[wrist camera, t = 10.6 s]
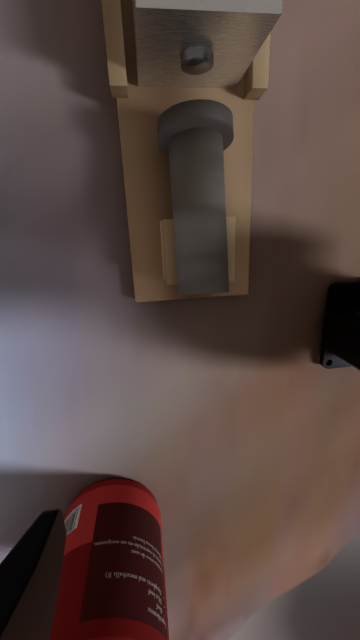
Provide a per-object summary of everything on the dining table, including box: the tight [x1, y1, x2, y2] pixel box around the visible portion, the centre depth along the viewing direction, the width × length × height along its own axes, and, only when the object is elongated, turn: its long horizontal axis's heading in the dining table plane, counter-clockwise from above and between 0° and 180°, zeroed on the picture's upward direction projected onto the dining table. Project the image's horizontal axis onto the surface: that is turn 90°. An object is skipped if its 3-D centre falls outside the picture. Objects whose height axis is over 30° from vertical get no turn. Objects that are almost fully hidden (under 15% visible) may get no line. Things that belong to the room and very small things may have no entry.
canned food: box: [49, 479, 169, 640], centre depth 18 cm, size 8×8×11 cm
